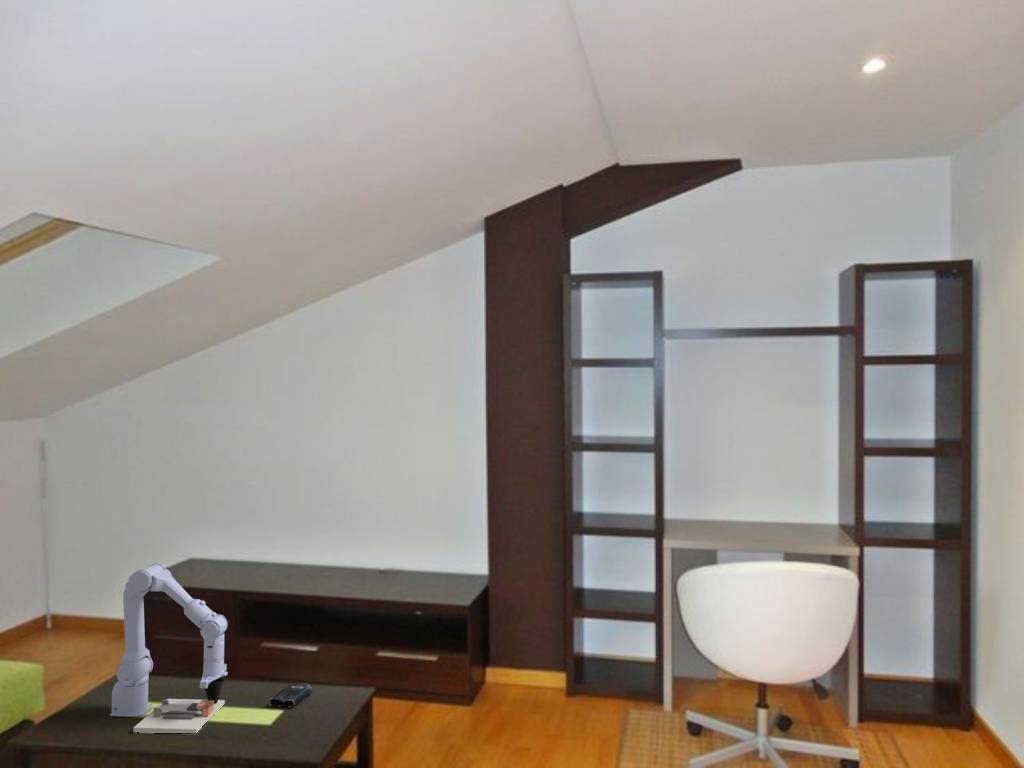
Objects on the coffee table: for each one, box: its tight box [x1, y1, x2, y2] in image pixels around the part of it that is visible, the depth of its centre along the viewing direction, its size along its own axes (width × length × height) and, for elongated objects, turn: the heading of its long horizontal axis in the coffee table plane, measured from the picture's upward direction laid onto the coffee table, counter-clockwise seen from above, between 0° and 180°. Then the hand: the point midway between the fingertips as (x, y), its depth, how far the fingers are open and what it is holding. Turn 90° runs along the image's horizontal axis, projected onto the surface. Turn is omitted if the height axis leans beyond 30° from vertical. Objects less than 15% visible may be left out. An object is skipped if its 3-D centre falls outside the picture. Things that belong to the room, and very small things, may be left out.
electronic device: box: [267, 682, 313, 709], centre depth 240 cm, size 9×6×15 cm
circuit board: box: [132, 698, 226, 734], centre depth 224 cm, size 18×20×4 cm
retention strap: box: [158, 703, 203, 714], centre depth 224 cm, size 14×4×2 cm, turn 89°
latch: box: [197, 699, 214, 716], centre depth 224 cm, size 4×4×3 cm
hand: (213, 703), depth 227 cm, fingers closed
